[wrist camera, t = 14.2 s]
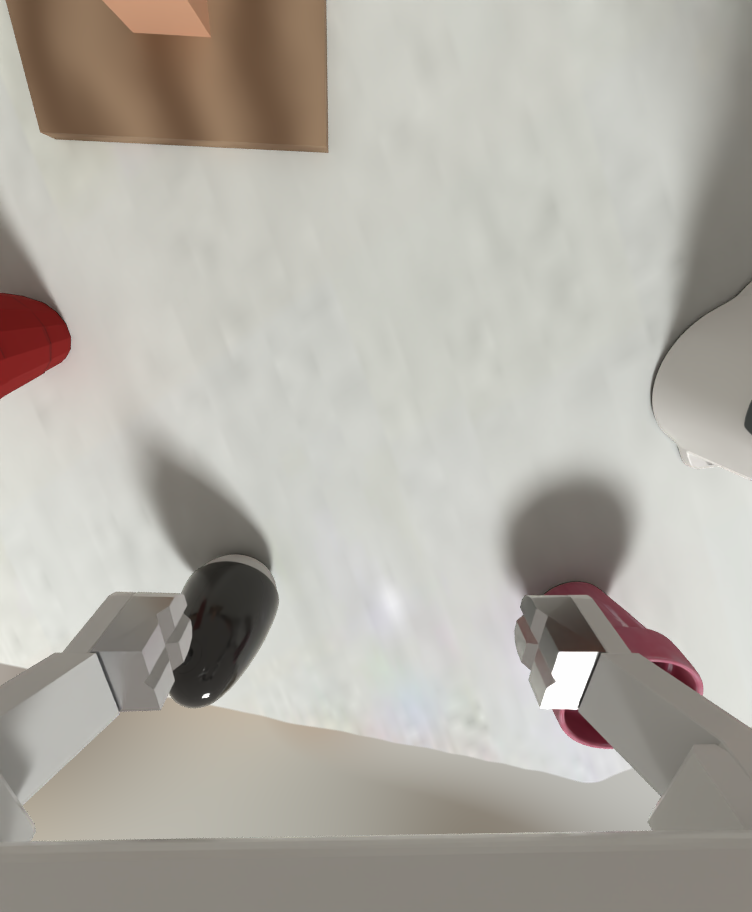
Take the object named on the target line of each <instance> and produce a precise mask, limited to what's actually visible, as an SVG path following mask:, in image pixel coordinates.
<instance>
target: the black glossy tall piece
mask: <svg viewBox="0 0 752 912" xmlns="http://www.w3.org/2000/svg"><path fill="white" fill-rule="evenodd" d="M181 594H183V595H184V596H185V600H186V603H187V607H186V609H185V610H184V612H183V613H184V614H185V615H186V616H187V617H188V618H189V619H190V620H191V624H192V639H191V644H190V648H189V651H188V654H187V656H186V658H185V660H184V662H183V663H182V664H181V665H179V666H178V667H177V668H176V669H174V670H173V671H172V672H173V675H174V679H175V681H174V683H173V685H172V688H171V690H170V692H169V694H170V696H171V698H172V699H173V700H174V701H175V702H176V703H178V704H180V705H181V706H184V707H188V708H201V707H205V706H208V705H210V704H212V703H214V702H215V701H217V700H218V699H219V698H221V697H222V696H223V695H224V694H225V693H226V692H227V691H228V690H229V689H230V688H231V687H232V686H233V685H234V684H235V683H236V682H237V681H238V679H239V678H240V677H241V676H242V674H243V673H244V672H245V670H246V669H247V668H248V666H249V665H250V663H251V662H252V660H253V659H254V657H255V656H256V654H257V653H258V651H259V649H260V648H261V646H262V644H263V642H264V640H265V638H266V636H267V634H268V632H269V630H270V628H271V626H272V623H273V621H274V619H275V616H276V613H277V609H278V605H279V596H278V592H277V589H276V584H275V580H274V578H273V576H272V574H271V572H270V571H269V570H268V568H267V567H266V566H265V565H264V564H262V563H261V562H260V561H258V560H256V559H254V558H252V557H249V556H245V555H238V554H232V555H225V556H221V557H218V558H216V559H214V560H212V561H210V562H208V563H207V564H205V565H204V566H203V567H201V568H199V569H198V570H196V571H195V572H194V573H193V574H192V575H191V576H190V577H189V579H188V580H187V582H186V584H185V586H184V588H183V590H182V592H181Z"/></svg>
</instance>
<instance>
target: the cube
mask: <svg viewBox="0 0 752 912" xmlns="http://www.w3.org/2000/svg"><path fill="white" fill-rule="evenodd" d="M103 1H104V3H105V4H106V5H107V6H108V7H109V8H110V9H111V10H112V11H113V12H114V13H115V14H116V15H117V16H118V17H119V18H120V19H121V21H122V22H123V23H124V24H125V25H126V26H127V27H128V28H129V29H130V30H131V31H132V32H133V33H147V34H164V35H181V36H198V37H211V32H210V23H209V13H208V4H207V0H103Z"/></svg>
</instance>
